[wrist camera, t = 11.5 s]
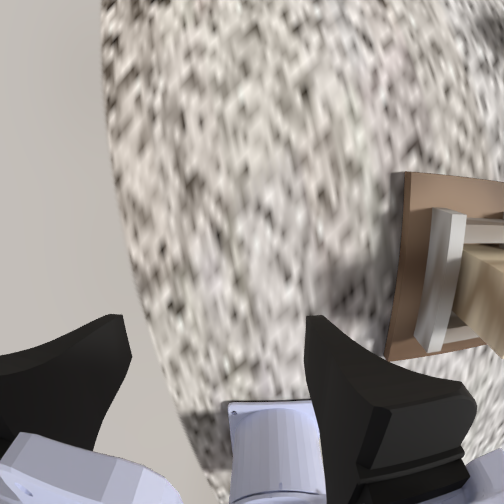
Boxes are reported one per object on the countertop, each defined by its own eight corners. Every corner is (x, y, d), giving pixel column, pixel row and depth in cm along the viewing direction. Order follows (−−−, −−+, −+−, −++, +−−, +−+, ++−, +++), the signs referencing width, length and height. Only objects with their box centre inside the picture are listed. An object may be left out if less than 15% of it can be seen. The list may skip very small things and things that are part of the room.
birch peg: (482, 297, 20) (543, 346, 12) (441, 301, 20) (501, 359, 12) (493, 244, 19) (563, 280, 11) (451, 244, 19) (525, 285, 11)
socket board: (491, 336, 22) (511, 355, 19) (383, 354, 23) (398, 381, 19) (519, 184, 18) (547, 191, 15) (404, 171, 19) (430, 174, 15)
